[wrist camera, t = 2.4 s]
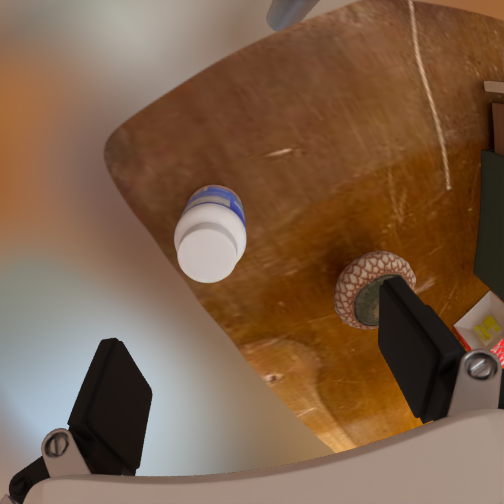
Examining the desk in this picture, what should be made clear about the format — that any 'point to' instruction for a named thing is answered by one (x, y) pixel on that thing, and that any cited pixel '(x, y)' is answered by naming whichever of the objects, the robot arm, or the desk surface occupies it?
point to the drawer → (497, 116)
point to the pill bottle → (210, 234)
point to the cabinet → (491, 224)
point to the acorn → (367, 287)
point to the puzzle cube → (484, 326)
